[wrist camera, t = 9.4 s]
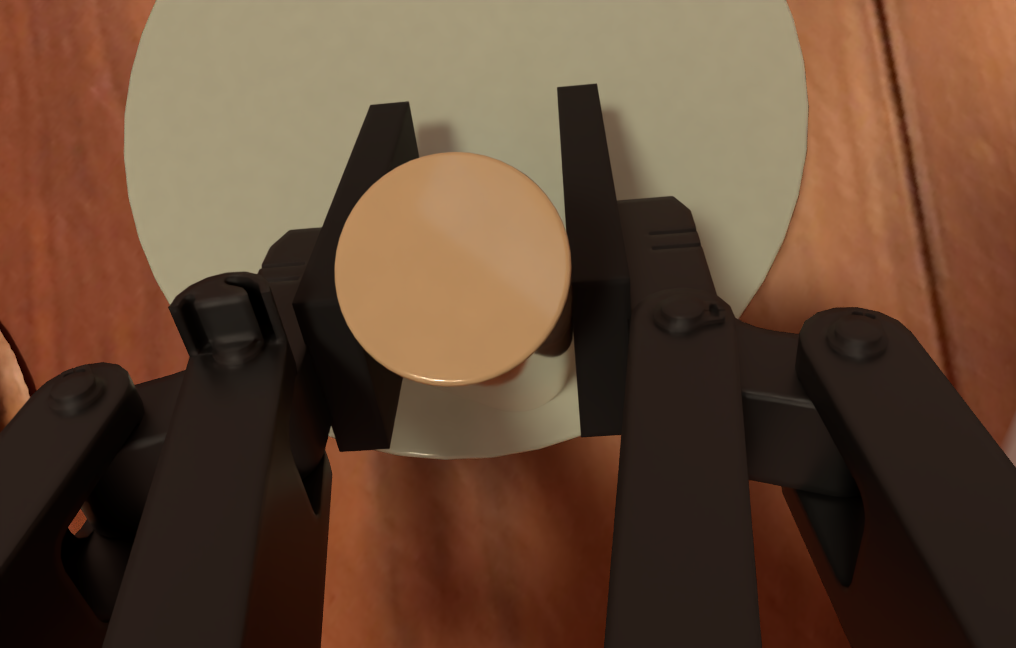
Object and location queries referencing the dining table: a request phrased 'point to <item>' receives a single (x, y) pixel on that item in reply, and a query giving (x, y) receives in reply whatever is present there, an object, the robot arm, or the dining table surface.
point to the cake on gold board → (10, 384)
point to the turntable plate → (466, 94)
